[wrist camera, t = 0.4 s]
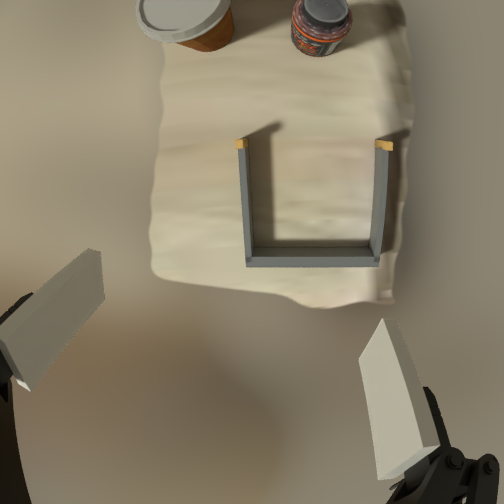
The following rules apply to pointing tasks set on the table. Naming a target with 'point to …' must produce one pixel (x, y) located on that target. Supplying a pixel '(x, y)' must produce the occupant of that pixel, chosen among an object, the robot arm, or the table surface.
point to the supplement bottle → (320, 25)
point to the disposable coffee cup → (187, 22)
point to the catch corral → (316, 254)
